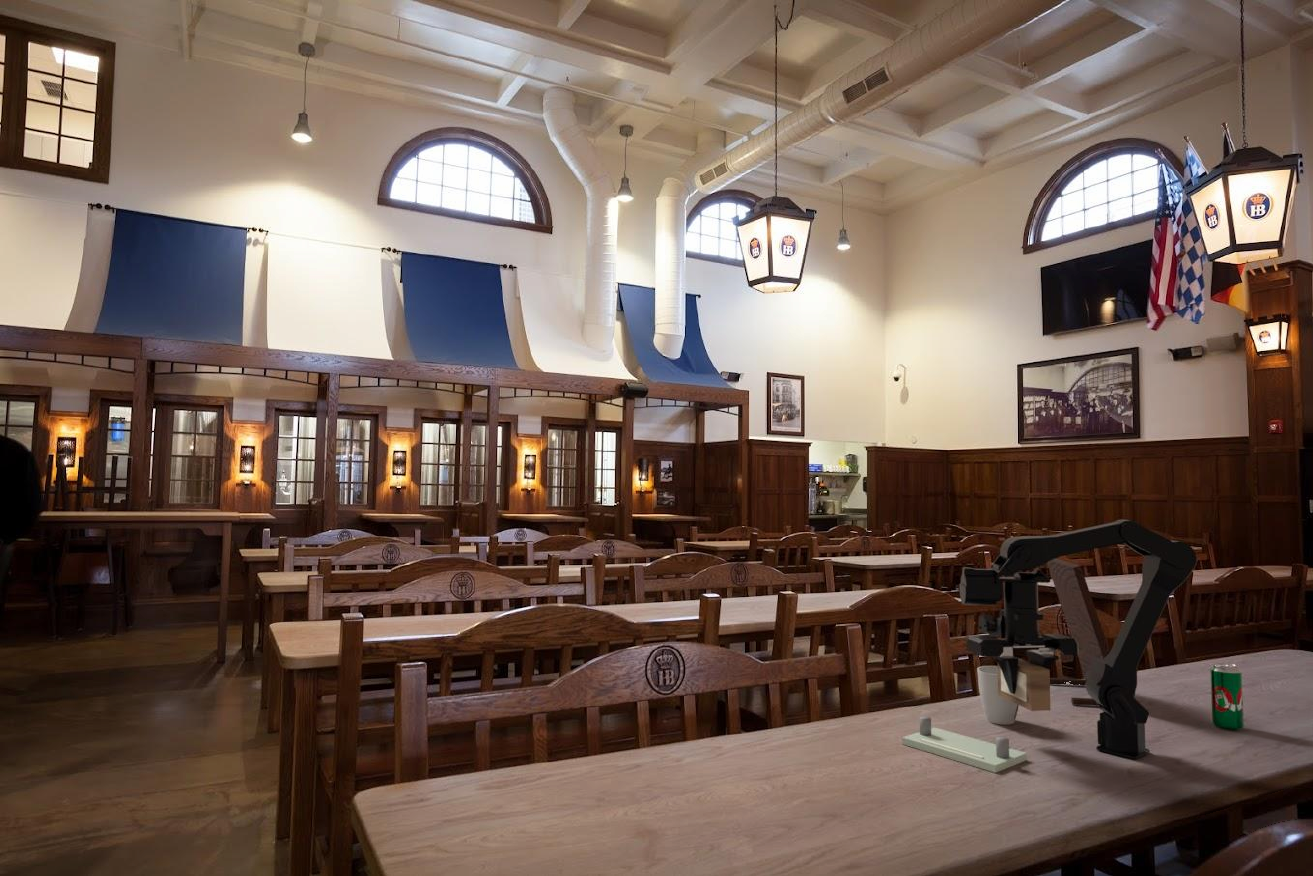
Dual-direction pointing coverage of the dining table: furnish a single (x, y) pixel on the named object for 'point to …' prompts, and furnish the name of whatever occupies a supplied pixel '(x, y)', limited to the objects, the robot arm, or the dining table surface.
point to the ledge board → (964, 748)
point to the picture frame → (1078, 619)
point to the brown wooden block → (1028, 686)
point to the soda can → (1227, 696)
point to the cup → (994, 698)
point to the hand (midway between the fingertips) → (1023, 693)
